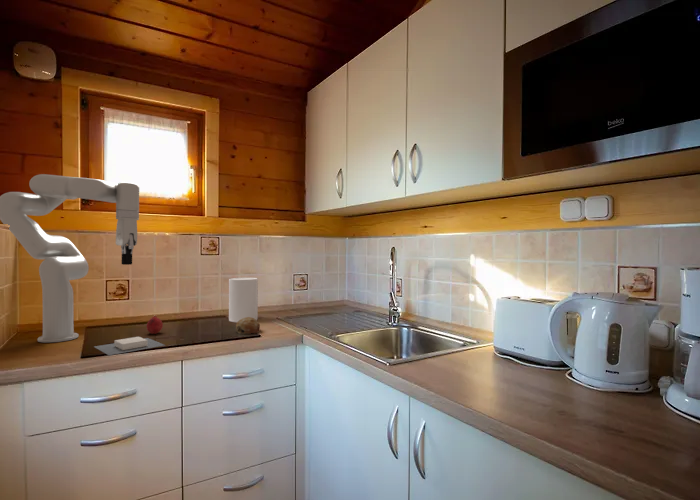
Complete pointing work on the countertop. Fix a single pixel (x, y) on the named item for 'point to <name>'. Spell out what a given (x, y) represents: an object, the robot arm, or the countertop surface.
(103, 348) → the mat
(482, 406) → the countertop surface
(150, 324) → the onion
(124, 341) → the picture frame
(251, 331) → the bread roll
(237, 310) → the canister
